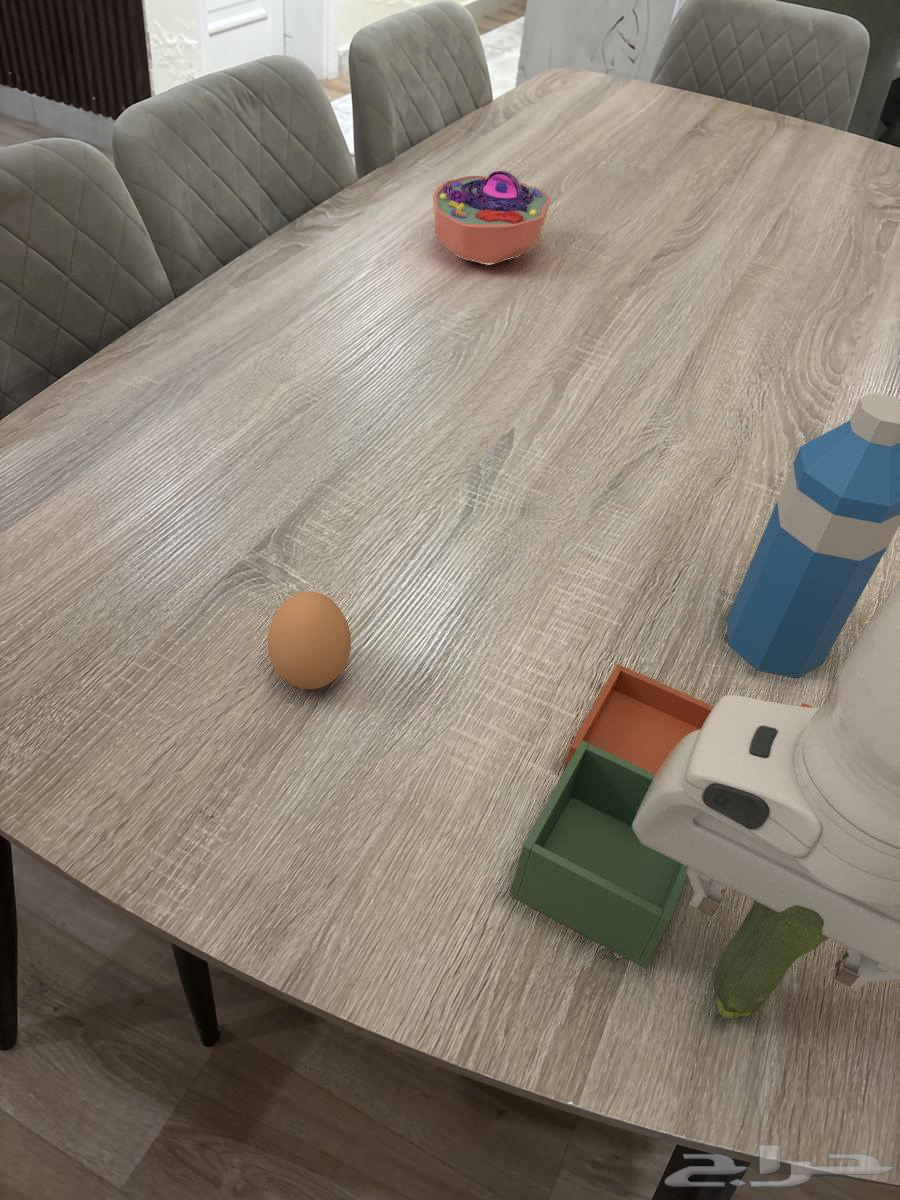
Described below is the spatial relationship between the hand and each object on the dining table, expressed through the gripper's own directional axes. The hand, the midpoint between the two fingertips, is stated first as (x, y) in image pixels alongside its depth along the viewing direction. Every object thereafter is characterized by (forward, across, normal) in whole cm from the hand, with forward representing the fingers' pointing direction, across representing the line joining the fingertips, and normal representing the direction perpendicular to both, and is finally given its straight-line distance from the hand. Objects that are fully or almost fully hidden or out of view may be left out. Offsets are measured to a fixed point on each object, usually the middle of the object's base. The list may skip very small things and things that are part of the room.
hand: (773, 937), depth 56 cm
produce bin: (+9, +11, -4) cm, 14 cm away
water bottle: (+9, +6, -35) cm, 37 cm away
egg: (+9, +39, -8) cm, 40 cm away
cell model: (+9, +64, -92) cm, 112 cm away
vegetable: (+9, 0, 0) cm, 9 cm away
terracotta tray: (+9, +11, -16) cm, 21 cm away
